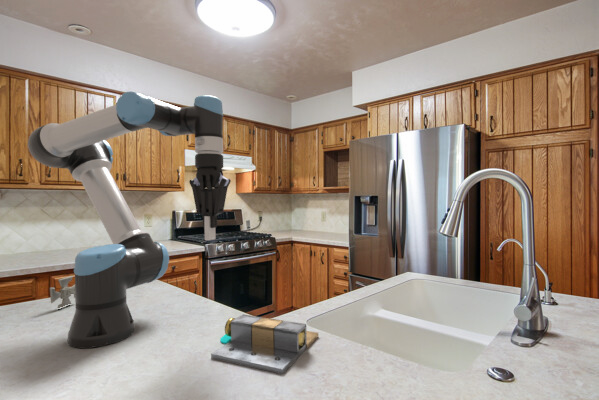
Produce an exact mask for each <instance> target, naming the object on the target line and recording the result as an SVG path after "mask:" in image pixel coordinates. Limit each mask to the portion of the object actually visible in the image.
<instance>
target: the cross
mask: <svg viewBox="0 0 599 400" xmlns="http://www.w3.org/2000/svg"><path fill="white" fill-rule="evenodd" d="M73 277H74V276H73V275H70V276H67V277H63V278H59V279H57V282H58V283H59V286H60V287H61V288H60V289H59V291H56V290H55V289H56V288H55V287H49V295H50V303H51V304H53V303H54V302H56V301H57V300H58V299H61V300H62V302H61V303H60V304H58V305H57V308H60V307H63V306H65V305H68V304H72V302H71V300H70V298H69V297H71V296H72V295H73V297H74V299H75V284H73V285H72V286H69V283H70V282H71V281H72V280H73Z"/></svg>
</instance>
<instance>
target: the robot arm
mask: <svg viewBox="0 0 599 400" xmlns="http://www.w3.org/2000/svg"><path fill="white" fill-rule="evenodd" d="M193 102H194V103H193V105H192V106H187V107H186V106H185V107H184V106H183V107H178V106H175V105H173V104H170V103H167V102H165V101H161V100H158V99H155V98H153V97H150V96H148V95H146V94H144V93H140V92H139V93H138V92H134V91H126V92H123V93H122V94H121V96H120V97H118V99H117V102H116V104H114V105H111V106H108V107H104V108H103V109H98V110H97V111H93V112H91V113H88V114H86V115H81V116H79V117H77V118H73V119H71V120H68V121H64V122H62V123H55V122H50V123H46V124H45V125H41V126H39V127H38V128H36V129H34V130H33V131H32V132H31V134H30V135H29V137H28V139H27V149H28V151H29V153H30V155H31V157H33V159H35V161H36V162H38V163H40V164H41V165H42V166H46V167H49V168H54V169H55V168H56V169H67V170H68V171H69V173H70V175H71V177H72V179H73V180H75V181H77V182H80V183H81V184H82V187H83V188H84V190H85V192H86V194H87V195H88V198H89V199H90V202H91V203H92V206H93V207H94V209H95V211H96V213H97V215H98V217H99V218H100V219H99V220H100V221H101V223H102V225H103V226H104V229H105V231H106V233H107V234H108V237H109V239H110V241H111V242H112V243H110V244H104V245H98V246H93V247H89V248H86V249H84V250H81V251H80V252H79V253H78V254H77V255H76V256H75V259H74V267H73V274H74V285H75V298H74V299H75V301H74V302H75V311H74V315H73V317H72V321H71V324H70V327H69V330H68V332H67V344H68V346H70V347H72V348H77V349H79V348H80V349H87V348H88V349H89V348H97V347H103V346H109V345H111V344H114V343H117V342H120V341H123V340H124V339H127V338H129V337H130V336H132V334H134V333H135V321H134V319H133V316H132V314H131V311H130V308H129V305H128V304H127V290H128V289H132V288H135V287H138V286H141V285H145V284H149V283H152V282H154V281H156V280H158V279H160V278H162V277H163V276H164V275H165V274H166V272H167V270H168V268H169V263H170V254H169V252H168V249H167V247H166V246H165V245H164V244H163V243H160V242H158V241H154V240H153V238H152V236H151V235H150V233H149V232H146V231H143V230H142V229H141V227H140V225H139V224H138V221H137V220H136V218H135V216H134V214H133V212H132V210H131V209H130V206H129V205H128V203H127V201H126V199H125V197H124V196H123V194H122V192H121V190H120V189H119V186H118V184H117V182H116V180H115V178H114V177H113V175H112V173H111V170H112V164H113V161H114V158H113V156H114V152H113V151H114V150H113V148H112V147H111V145H110V143H109V142H108V141H107V140H110V139H114V138H116V137H117V138H118V137H120V136H123V135H126V134H129V133H133V132H136V131H140V130H143V129H152V130H156V131H158V132H160V133H161V135H162V136H165V137H178V136H185V135H187V136H189V135H194V151H195V153H196V154H195V156H194V164H195V165H194V166H195V168H196V170H197V171H196V174H195V177H194V178H193V179H189V180H188V183H189V185H190V187H191V189H192V195H193V199H194V204H195V211H196V213H197V214H200V215H201V216H202V227H203V229H204V240H205V241H214V240H216V236H217V235H216V234H217V233H216V228H217V227H218V216H219V215H221V214H223V213H224V211H225V204H226V199H227V198H226V197H227V194H228V193H227V192H228V188H229V185H230V184H231V179H230V178H226V176H224V173H223V168H224V155H223V153H224V136H223V134H224V132H223V131H224V130H223V129H224V113H223V102H222V100H221V99H220V98H218V97H217V96H215V95H214V96H213V95H207V94H206V95H198V96H196V97H195V98H194V101H193Z"/></svg>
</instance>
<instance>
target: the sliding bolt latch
mask: <svg viewBox="0 0 599 400" xmlns="http://www.w3.org/2000/svg"><path fill="white" fill-rule="evenodd" d="M300 332H301V333H304V337H305V338H304V343H303V345H302V346H299V340H298V334H299V333H300ZM318 338H319V332H315V331H308V330H307V324H306V323H302V322H295V321H289V320H281V319H274V318H268V317H262V316H255V315H248V314H241V315H239V316H238V317H236V319H234V320H232V321H231V341H230V342H228V343H227V344H223V345H222V346H221V347H220V348H218V349H216V350H215V351H213V352H212V353H210V356H211V359H213V360H218V361H223V362H227V363H231V364H236V365H239V366H240V365H241V366H245V367H249V368H253V369H258V370H262V371H267V372H270V373H271V372H272V373H276V374H280V375H284V374H285V372H286V371H287V370H288V369H289V368H290V367H291V366H292V365H293V364H294V363H295V362H296V361H297V360H298V359H299V357H300V356H301V355H302V354H303V353H304V352H305V351H306V350H307V349H309V348H310V346H311V345H312V344H313V343H314V342H315V341H316V340H317V339H318Z"/></svg>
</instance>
